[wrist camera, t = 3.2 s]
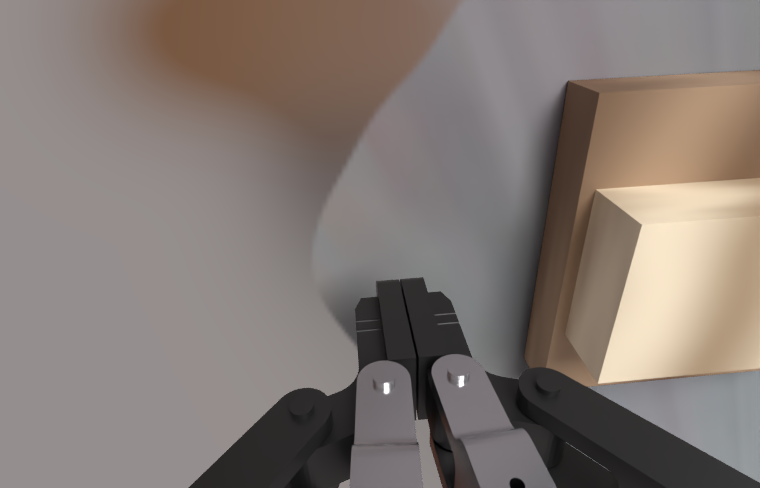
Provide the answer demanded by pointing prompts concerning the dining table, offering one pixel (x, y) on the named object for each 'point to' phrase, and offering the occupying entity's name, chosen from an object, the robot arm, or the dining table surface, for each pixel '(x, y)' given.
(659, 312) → the beech tile
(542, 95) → the dining table surface
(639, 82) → the block
